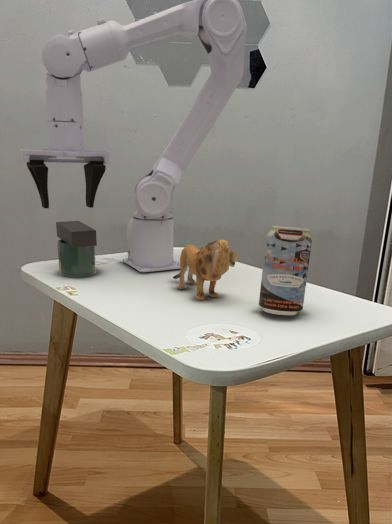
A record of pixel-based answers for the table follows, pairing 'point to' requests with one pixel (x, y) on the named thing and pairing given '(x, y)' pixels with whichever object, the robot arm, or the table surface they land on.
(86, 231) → the black bar
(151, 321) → the table surface
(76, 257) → the cup
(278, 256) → the beverage can
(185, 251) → the lion figurine
